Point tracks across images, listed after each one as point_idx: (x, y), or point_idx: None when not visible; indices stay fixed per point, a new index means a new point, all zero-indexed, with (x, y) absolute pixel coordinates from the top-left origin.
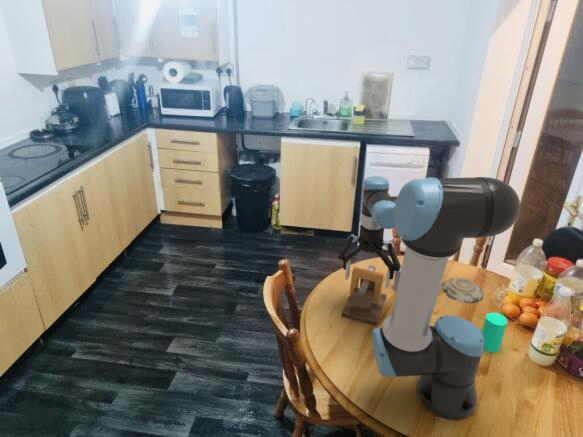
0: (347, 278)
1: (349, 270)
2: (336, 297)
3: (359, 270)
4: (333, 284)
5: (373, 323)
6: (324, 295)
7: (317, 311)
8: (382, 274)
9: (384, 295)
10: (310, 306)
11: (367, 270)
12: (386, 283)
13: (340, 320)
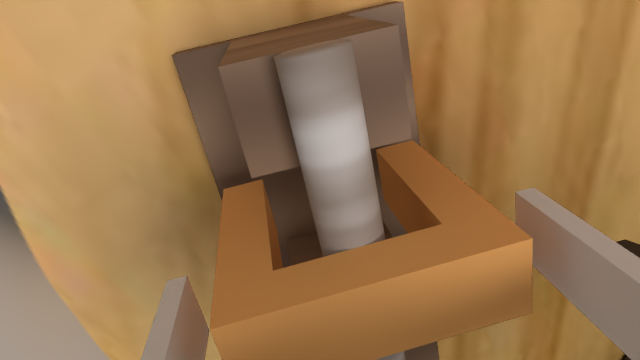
0: (207, 340)
1: (180, 333)
2: (139, 180)
3: (294, 349)
4: (21, 71)
5: None
6: (70, 206)
7: (141, 324)
8: (522, 259)
9: (395, 22)
10: (85, 318)
11: (364, 297)
12: (549, 276)
13: None
